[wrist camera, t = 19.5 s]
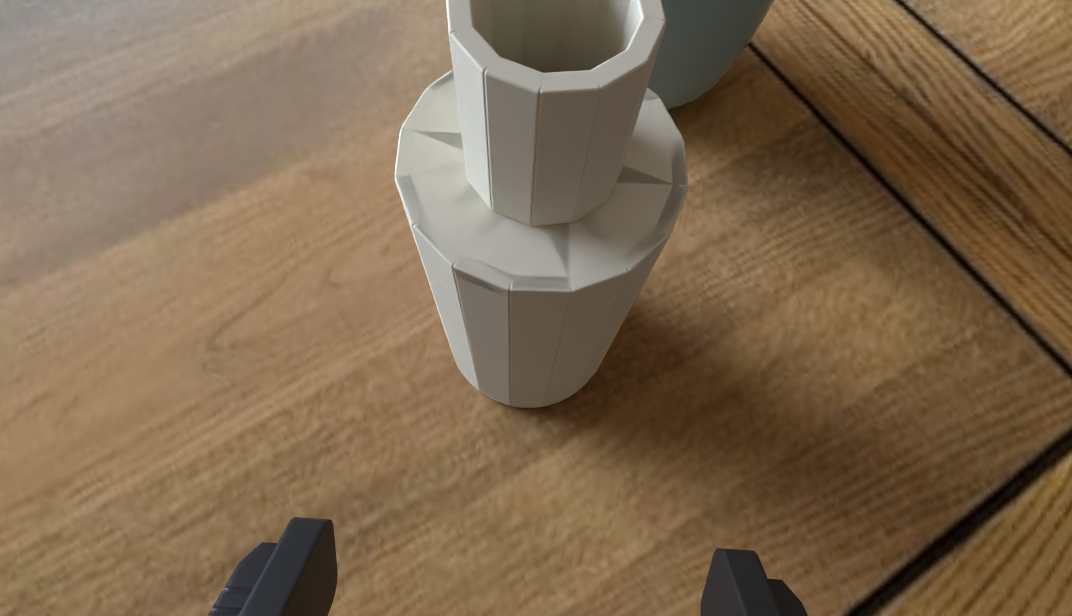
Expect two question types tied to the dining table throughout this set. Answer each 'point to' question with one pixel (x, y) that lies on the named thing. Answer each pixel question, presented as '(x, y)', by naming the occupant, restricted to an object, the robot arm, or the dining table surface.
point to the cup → (701, 45)
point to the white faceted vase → (541, 186)
